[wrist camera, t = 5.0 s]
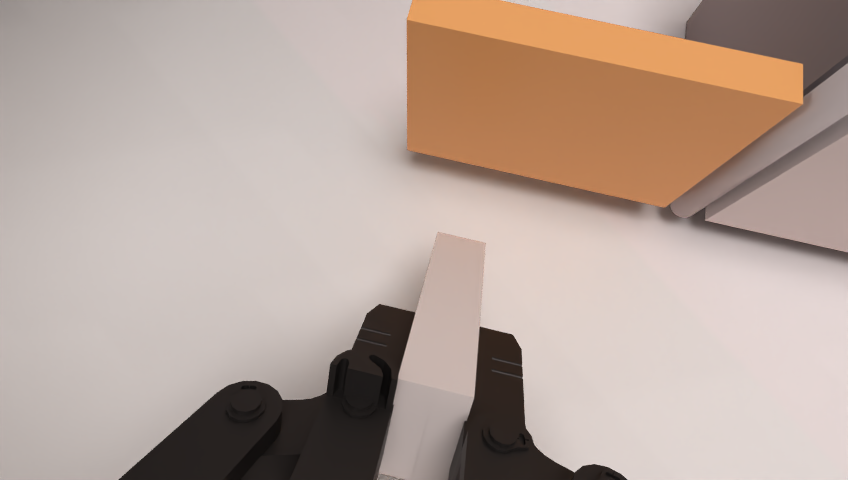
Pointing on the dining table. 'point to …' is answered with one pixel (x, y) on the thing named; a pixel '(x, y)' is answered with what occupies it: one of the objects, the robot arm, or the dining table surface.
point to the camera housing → (778, 32)
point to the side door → (631, 116)
